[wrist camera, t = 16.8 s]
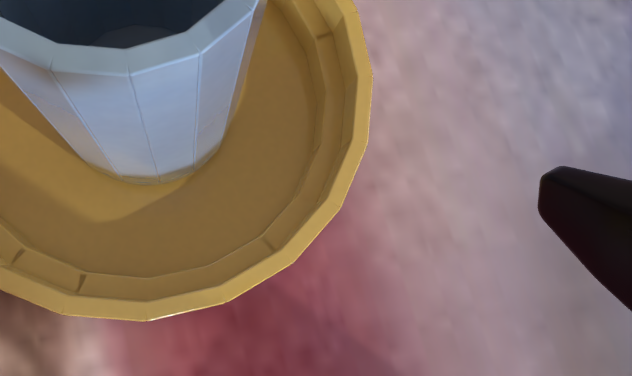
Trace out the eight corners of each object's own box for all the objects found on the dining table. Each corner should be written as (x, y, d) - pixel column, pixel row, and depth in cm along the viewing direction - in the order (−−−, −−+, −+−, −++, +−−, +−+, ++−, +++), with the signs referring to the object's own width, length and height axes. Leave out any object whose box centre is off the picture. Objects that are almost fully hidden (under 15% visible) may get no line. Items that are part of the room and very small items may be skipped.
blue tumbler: (258, 67, 24) (333, -154, 11) (189, 213, 22) (193, 136, 10) (106, -6, 23) (13, -329, 11) (24, 140, 21) (-188, -38, 9)
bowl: (396, 31, 26) (433, -12, 22) (248, 377, 22) (261, 398, 18) (54, -147, 24) (29, -230, 20) (-167, 204, 20) (-250, 186, 16)
